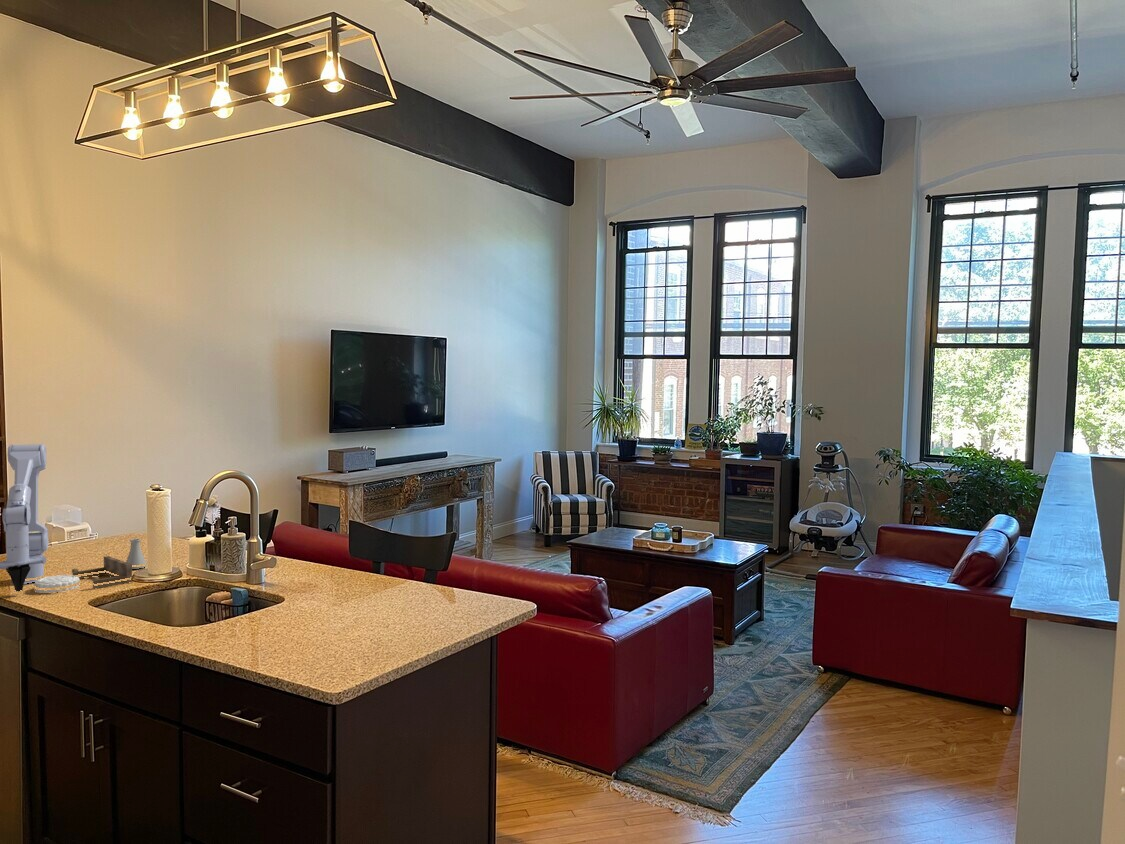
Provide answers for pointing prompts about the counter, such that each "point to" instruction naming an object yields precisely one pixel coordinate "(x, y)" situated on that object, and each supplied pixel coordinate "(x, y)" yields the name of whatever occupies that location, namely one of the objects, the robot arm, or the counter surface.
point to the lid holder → (112, 566)
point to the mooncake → (56, 583)
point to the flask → (136, 554)
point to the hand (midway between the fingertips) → (18, 590)
